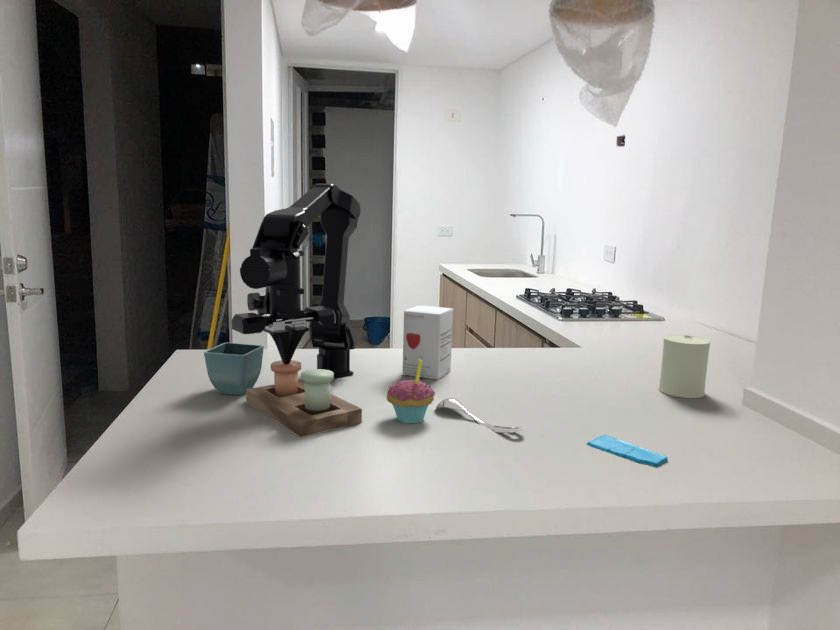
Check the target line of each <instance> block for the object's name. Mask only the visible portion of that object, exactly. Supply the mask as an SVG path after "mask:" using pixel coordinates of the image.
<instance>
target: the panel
mask: <svg viewBox="0 0 840 630" xmlns="http://www.w3.org/2000/svg"><path fill="white" fill-rule="evenodd" d="M245 402H246V403H247V404H249V405H251V406H252V407H253V408H255V409H256V410H258V411H259V412H261V413H263V414H264V415H265V416H267V417H269V418H270V419H272V420H274V421H275V422H276V423H278V424H280V425H281V426H283V427H285V429H287V430H289V431H291V432H292V433H293V434H295V435H297V436H298V437H299V438H302V437H305V436H310V435H315V434H318V433H323V432H328V431H332V430H335V429H340V428H344V427H348V426H351V425H352V426H353V425H356V424H361V423H363V418H362V417H363V415H362V414H363V408H361V407H359V406H357V405H355V404H353V403H352V402H349V401H347V400H345V399H343V398H341V397H338V396H337V395H335V394H332V393H331V392H330V408H328V409H325V410H319V411H314V410H308V409H306V408H305V382H303V381H301V379H298V394H294V395H289V396H284V397H277V396H276V395H275V383H274V384H269V385H264V386H258V387H253V388H251V389H246V392H245Z"/></svg>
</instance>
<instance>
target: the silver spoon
mask: <svg viewBox="0 0 840 630" xmlns="http://www.w3.org/2000/svg"><path fill="white" fill-rule="evenodd" d="M443 408H446V409H451V410H457V411H460V412H462V413H464V414H466V415H467V416H469V417H470V418H471V419H472V420H474V421H475V422H476V423H477V424H479V425H481V426H484V427H486V428H488V429H489V430H491V431H492V432H493V433H494V432H495V433H497V434H499V433H500V434H510V433H516V432H520V431H524V430H525V427H524V426H507V425H506V426H501V425H496V424H491V423H487V422H485V421H484V420H481V419H480V418H478V417H477V416H476V415H474V414H473V413H472V412H471V411H470V410H468V409H467V407H466V406H465V404H464V403H463V402H462V401H461V400H460V399H458V398H455V397H449V398H448V397H447V398H445V399H443V400H441V401H439V403H437V405H436V406H435V410H438V409H439V410H440V409H443Z"/></svg>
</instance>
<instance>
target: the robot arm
mask: <svg viewBox="0 0 840 630" xmlns="http://www.w3.org/2000/svg"><path fill="white" fill-rule="evenodd" d="M318 217H320V218H319V219H320V226H321V227H322V229H323V231H324V232H325V234H326V242H325V243H326V244H325V253H324V254H325V255H324V266H323V277H322V278H323V281H322V292H321V301H320V303H319V304H318V305H315V306H309V307H308V306H307V307H305V308H304V309H302V307H301V305H302V304H301V303H302V302H301V301H302V300H301V296H302V295H304V294H305V289H304V288H303V287H301V286H302V285H301V257H304V256H305V252H304V250H303V249H301V245H303V243H304V241H305V240H306V238H307V237H308V235H309V234H310V233H309V226H310V224H311V223H313V222H314V221H315V220H316V219H318ZM360 217H361V204H360V203H359V202H358V201H357V199H356V198H355V197H354V195H351V194H350V193H348V192H346V191H344V190H342V189H340V188H339V187H338V185H335V184H333V183H315V184H312V185H311V187H310V190H308V191H307V192H306V193H305V194H303V195H302V196H301V197H300V198H299V199H297V200H296V201H295V202H294V203H292V205H290V206H288V207H286V208H281V209H276V210H273V211H271V212H268V213H267V214H265V216H264V217H263V219H262V221H261V223H260V225H259V230H258V232H257V234H256V236H255V240H254V243H253V245H252V248H250V250H249V256H247V257H246V258H244V260H243V261H242V263H241V265H240V267H239V275H240V278H241V280H242V282H243V284H244V285H246V286H247V287H248V288H251V289H254V290H259V289H263V288H265V294H264V295H261V294H260V293H259V292H250V293H248V294H247V299H246V300H247V301H246V302H247V304H246V305H247V308H248V309H247V310H248V311H250V312H245V313H235V314H234V316H233V317H232V319H231V329H232V330H233V331H235V332H237V333H240V334H243V335H252V334H260V333H262V332H265V333H267V334H269V335H270V336H271V338H272V339H273V341H274V344H275V347H276V348H277V352H278V355H279V356H280V359H281V360H282V362H283V364H285V365H286V364H289V363H290V361H291V360H292V359H293V356H294V355H295V352H296V350H297V348H298V346H299V343H300V342H301V340H302V338H303V337H304V335H305V334H306V333H307V332H309V335H310V339H311V344H312V348H314V349H315V348H318V354H316V369H324V370H330V371H332V372H333V373H334V379H335V378H340V377H345V376H346V377H347V376H351V375H354V371H352V370H350V369H351V368H350V366H351V364H350V363H351V359H350V358H351V356H350V355H351V352H350V351H351V350H355V349H356V345H357V335H356V334H355V331H354V329H353V327H352V326H351V316H350V314H349V312H348V310H347V307H346V306H345V303H344V302H345V291H346V290H345V289H346V276H347V263H348V252H349V251H348V250H349V240H350V238H351V236H352V235H353V233H354V232H355V230H356V229H357V228H358V224H359V218H360ZM251 311H257V313H256V312H251ZM307 322H310V325H309V327H307V325H306V324H307Z"/></svg>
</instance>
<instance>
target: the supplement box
mask: <svg viewBox="0 0 840 630" xmlns="http://www.w3.org/2000/svg"><path fill="white" fill-rule="evenodd" d="M453 321H454V308H451V307H444V306H443V307H441V306H433V305H431V306H430V305H421V304H419V305H418V304H417V305H415V306H414V307H410V308H407V309H405V310H403V335H402V336H403V340H402V341H403V344H402V346H403V347H402V376H410V377H416V373H417V367H418V362H419V360H420V359H421V356H423V357H422V366H421V372H420V377H419V378H422V379H432V380H439V379H441V378H442V377H444V376H445V375H446V374H447V373H449V372H450V371H451V370H452V369H451V367H452V365H451V363H452V343H453V341H452V340H453Z"/></svg>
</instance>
